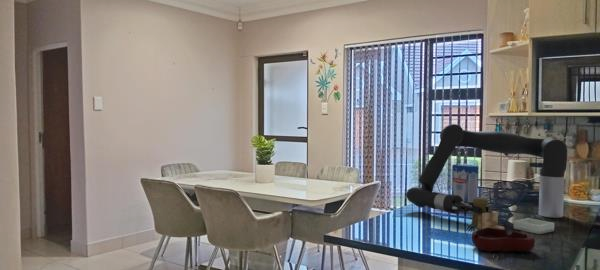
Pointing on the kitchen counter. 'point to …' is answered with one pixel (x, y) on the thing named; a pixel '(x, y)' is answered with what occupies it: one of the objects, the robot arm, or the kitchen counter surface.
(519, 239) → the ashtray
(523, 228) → the tray
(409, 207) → the kitchen counter surface
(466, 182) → the milk carton
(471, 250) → the kitchen counter surface
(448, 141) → the robot arm
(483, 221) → the bracket
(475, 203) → the cork
